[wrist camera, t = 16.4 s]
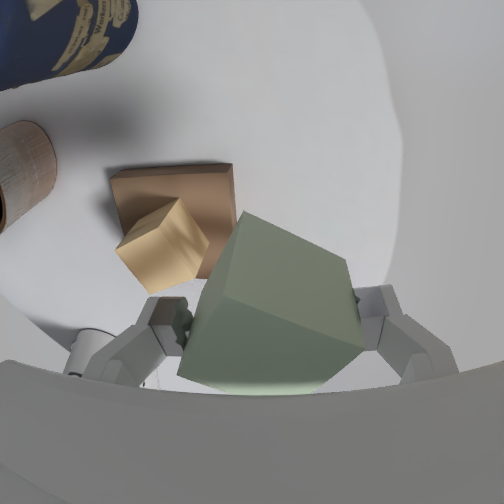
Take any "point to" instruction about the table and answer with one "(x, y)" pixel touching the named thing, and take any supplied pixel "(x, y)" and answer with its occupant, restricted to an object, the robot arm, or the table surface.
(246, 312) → the green cube
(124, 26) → the canister
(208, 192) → the base plate
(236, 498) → the robot arm
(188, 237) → the oak cube
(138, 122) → the table surface
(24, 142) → the planter
